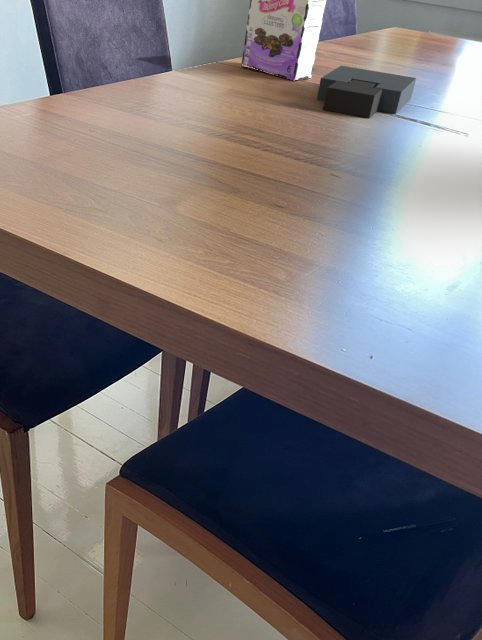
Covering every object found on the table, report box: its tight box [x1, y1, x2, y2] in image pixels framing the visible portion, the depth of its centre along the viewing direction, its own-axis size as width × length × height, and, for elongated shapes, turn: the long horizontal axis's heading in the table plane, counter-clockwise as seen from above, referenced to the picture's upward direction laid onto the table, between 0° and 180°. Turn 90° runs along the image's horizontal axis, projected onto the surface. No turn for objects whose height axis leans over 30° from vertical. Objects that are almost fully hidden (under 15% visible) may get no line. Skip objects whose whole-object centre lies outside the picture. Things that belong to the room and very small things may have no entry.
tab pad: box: [322, 80, 382, 119], centre depth 124 cm, size 8×10×4 cm
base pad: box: [316, 65, 417, 115], centre depth 131 cm, size 14×14×4 cm
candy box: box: [241, 0, 327, 82], centre depth 139 cm, size 14×6×16 cm, turn 43°
